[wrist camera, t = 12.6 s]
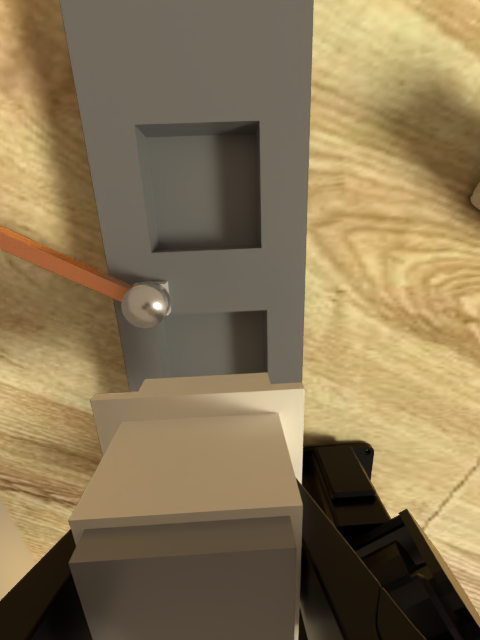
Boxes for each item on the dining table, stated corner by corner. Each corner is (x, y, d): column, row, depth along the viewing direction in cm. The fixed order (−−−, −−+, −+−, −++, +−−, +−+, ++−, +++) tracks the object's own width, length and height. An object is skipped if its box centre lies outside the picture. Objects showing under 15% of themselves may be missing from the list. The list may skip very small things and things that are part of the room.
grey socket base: (290, 391, 21) (304, 426, 17) (148, 399, 21) (132, 436, 17) (297, -13, 14) (321, -94, 10) (84, -9, 14) (34, -90, 10)
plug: (286, 481, 12) (335, 698, 7) (144, 490, 12) (72, 720, 7) (288, 352, 11) (356, 501, 5) (120, 361, 10) (-7, 524, 5)
